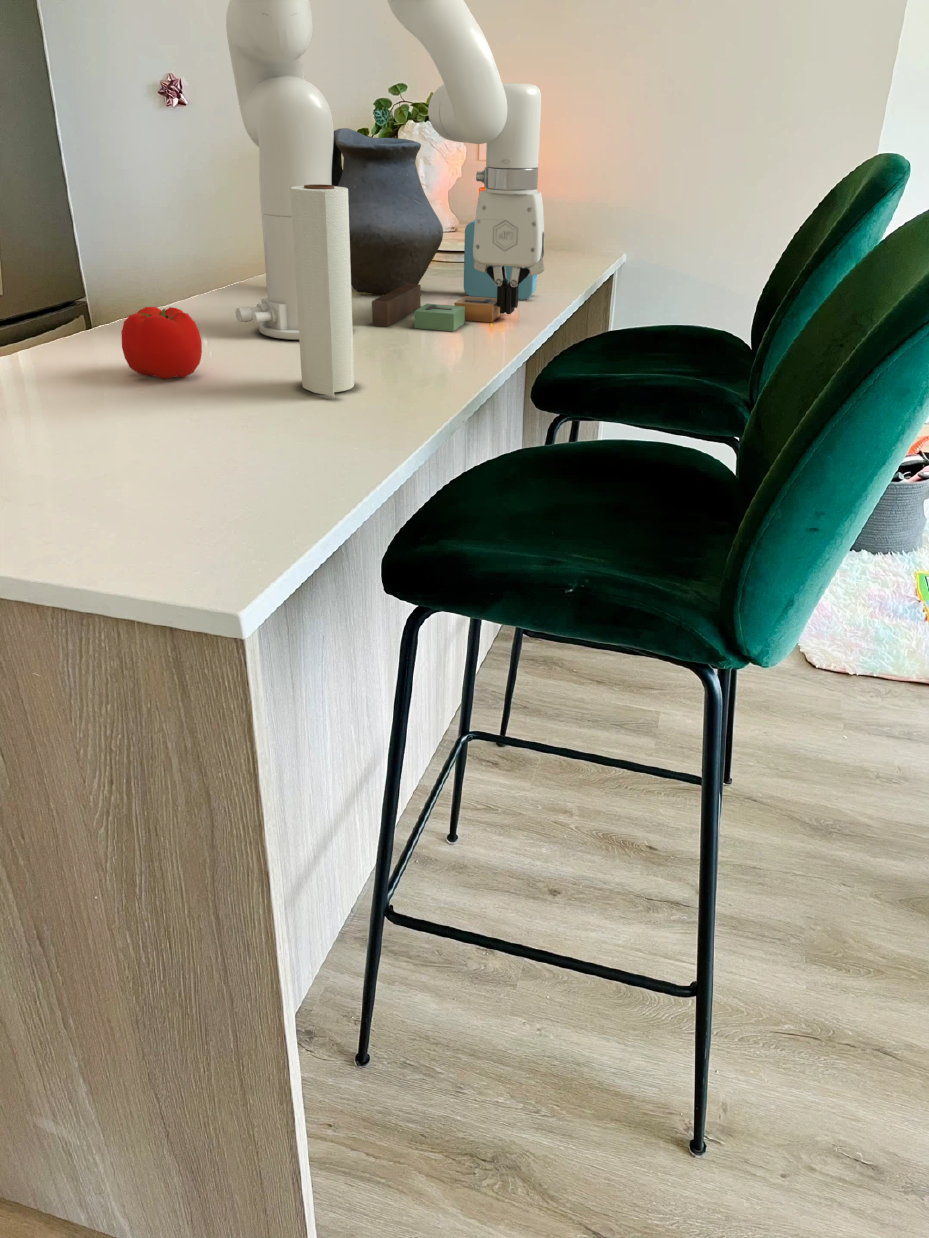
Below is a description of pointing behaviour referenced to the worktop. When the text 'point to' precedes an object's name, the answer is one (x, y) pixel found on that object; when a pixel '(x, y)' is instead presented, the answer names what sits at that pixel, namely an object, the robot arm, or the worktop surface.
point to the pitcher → (384, 211)
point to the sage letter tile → (439, 317)
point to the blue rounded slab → (482, 282)
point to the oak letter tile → (479, 308)
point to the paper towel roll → (323, 287)
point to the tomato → (161, 342)
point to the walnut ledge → (396, 304)
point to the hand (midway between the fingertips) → (507, 312)
